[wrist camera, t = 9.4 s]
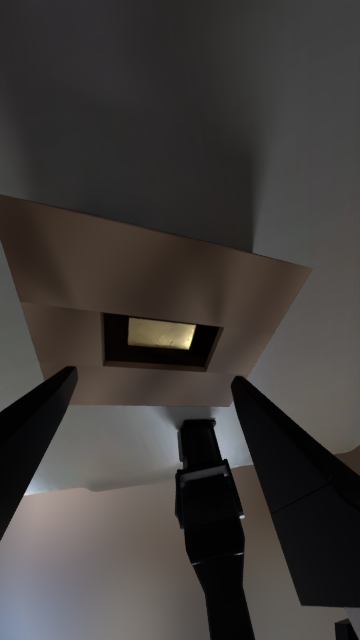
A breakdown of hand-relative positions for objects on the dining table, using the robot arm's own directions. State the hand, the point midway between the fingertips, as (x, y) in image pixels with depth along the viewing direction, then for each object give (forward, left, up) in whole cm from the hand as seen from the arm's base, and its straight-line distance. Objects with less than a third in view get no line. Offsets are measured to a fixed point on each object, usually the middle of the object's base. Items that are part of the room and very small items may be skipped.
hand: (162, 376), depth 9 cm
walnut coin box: (0, 0, -10) cm, 10 cm away
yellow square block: (0, 0, -9) cm, 9 cm away
